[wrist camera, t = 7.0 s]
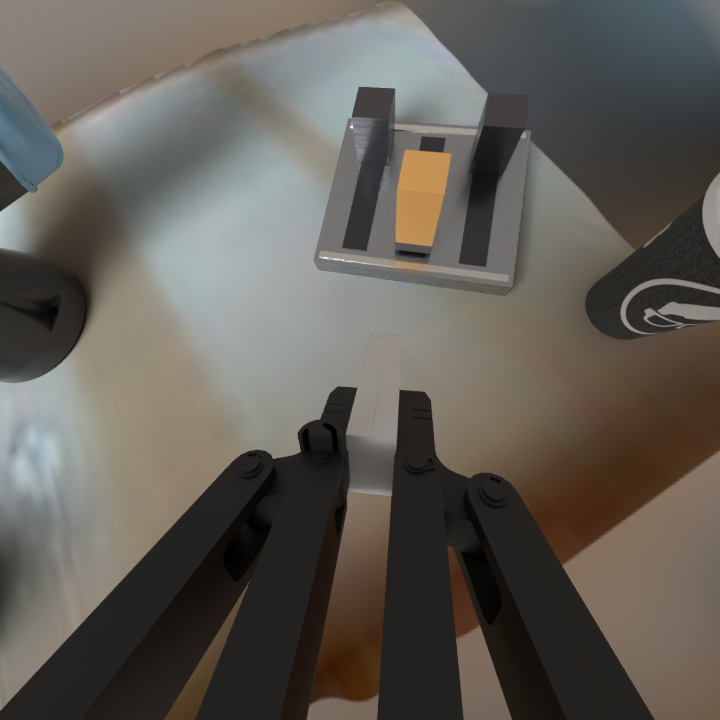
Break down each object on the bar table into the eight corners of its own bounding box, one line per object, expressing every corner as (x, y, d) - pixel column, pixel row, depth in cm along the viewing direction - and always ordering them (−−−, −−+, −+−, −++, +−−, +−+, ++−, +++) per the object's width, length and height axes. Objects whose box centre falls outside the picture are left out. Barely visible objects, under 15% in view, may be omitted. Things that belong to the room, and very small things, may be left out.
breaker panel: (318, 269, 33) (299, 230, 26) (350, 134, 36) (341, 67, 29) (504, 295, 30) (538, 259, 23) (522, 147, 33) (557, 76, 26)
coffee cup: (698, 314, 28) (1037, 201, 13) (621, 375, 28) (883, 328, 13) (620, 244, 30) (839, 80, 15) (547, 300, 30) (701, 187, 15)
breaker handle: (394, 249, 30) (396, 189, 22) (400, 217, 30) (404, 149, 23) (430, 253, 29) (445, 194, 22) (436, 221, 30) (452, 152, 22)
